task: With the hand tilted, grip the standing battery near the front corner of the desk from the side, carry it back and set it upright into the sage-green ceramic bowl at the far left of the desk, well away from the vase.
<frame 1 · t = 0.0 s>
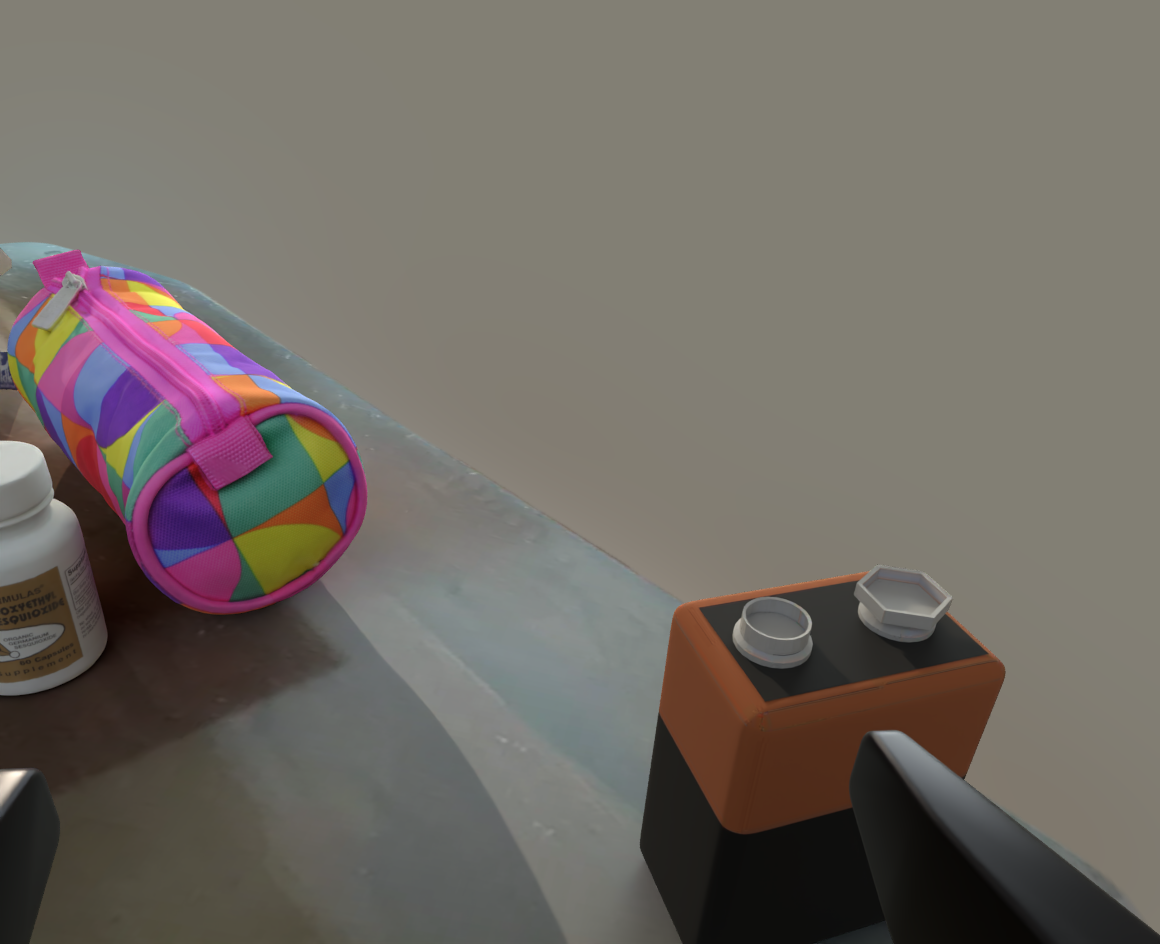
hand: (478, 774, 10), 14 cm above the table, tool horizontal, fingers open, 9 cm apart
battery: (770, 885, 25), on the table
pill bottle: (41, 660, 31), on the table
pencil case: (181, 505, 40), on the table
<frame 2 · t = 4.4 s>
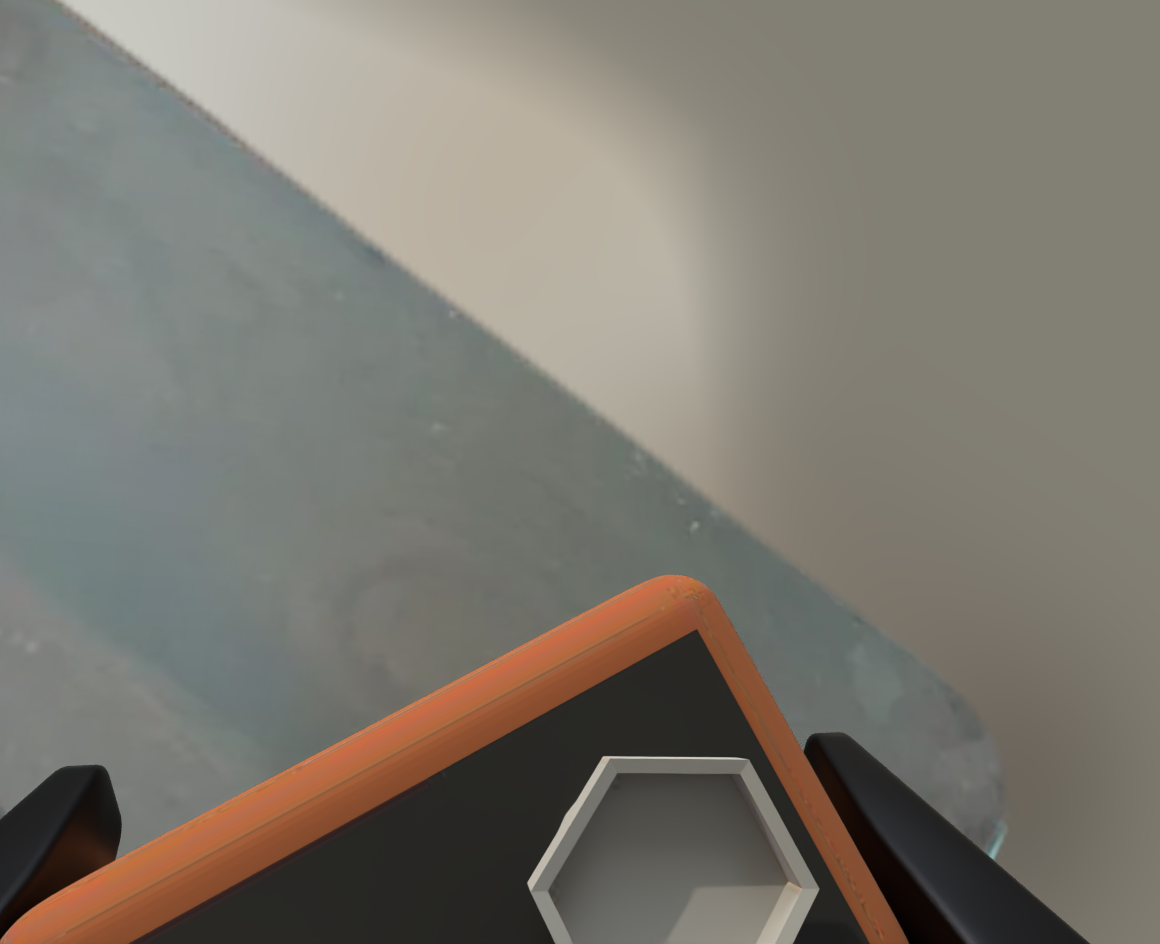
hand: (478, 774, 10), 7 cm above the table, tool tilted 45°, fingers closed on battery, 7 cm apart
battery: (472, 830, 16), on the table, touching gripper
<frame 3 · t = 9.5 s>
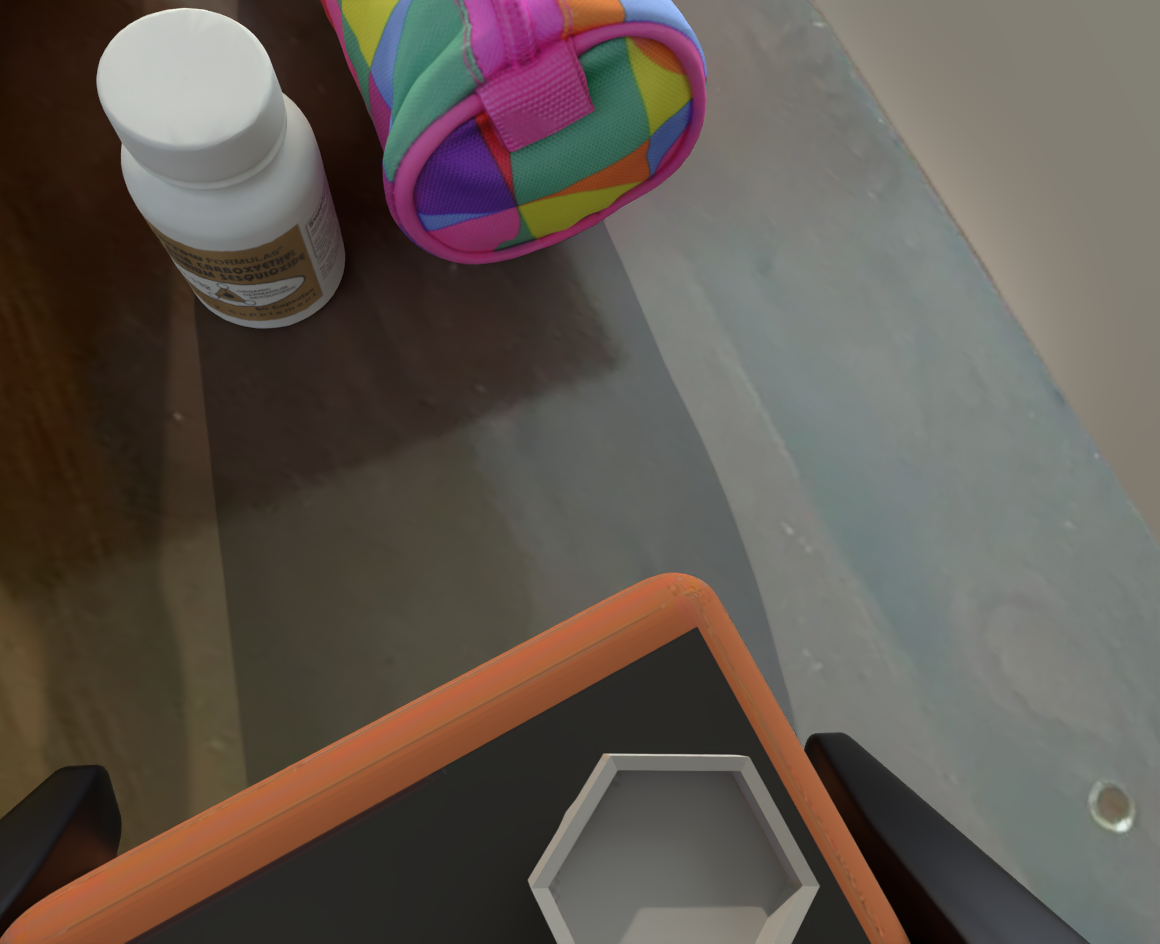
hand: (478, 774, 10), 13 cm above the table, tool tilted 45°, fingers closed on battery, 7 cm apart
battery: (472, 828, 16), point 6 cm above the table, touching gripper
pill bottle: (270, 266, 25), on the table
when the fingers open (7 cm above the table, at t = 15.0 s): battery stays where it is, resting on bowl.
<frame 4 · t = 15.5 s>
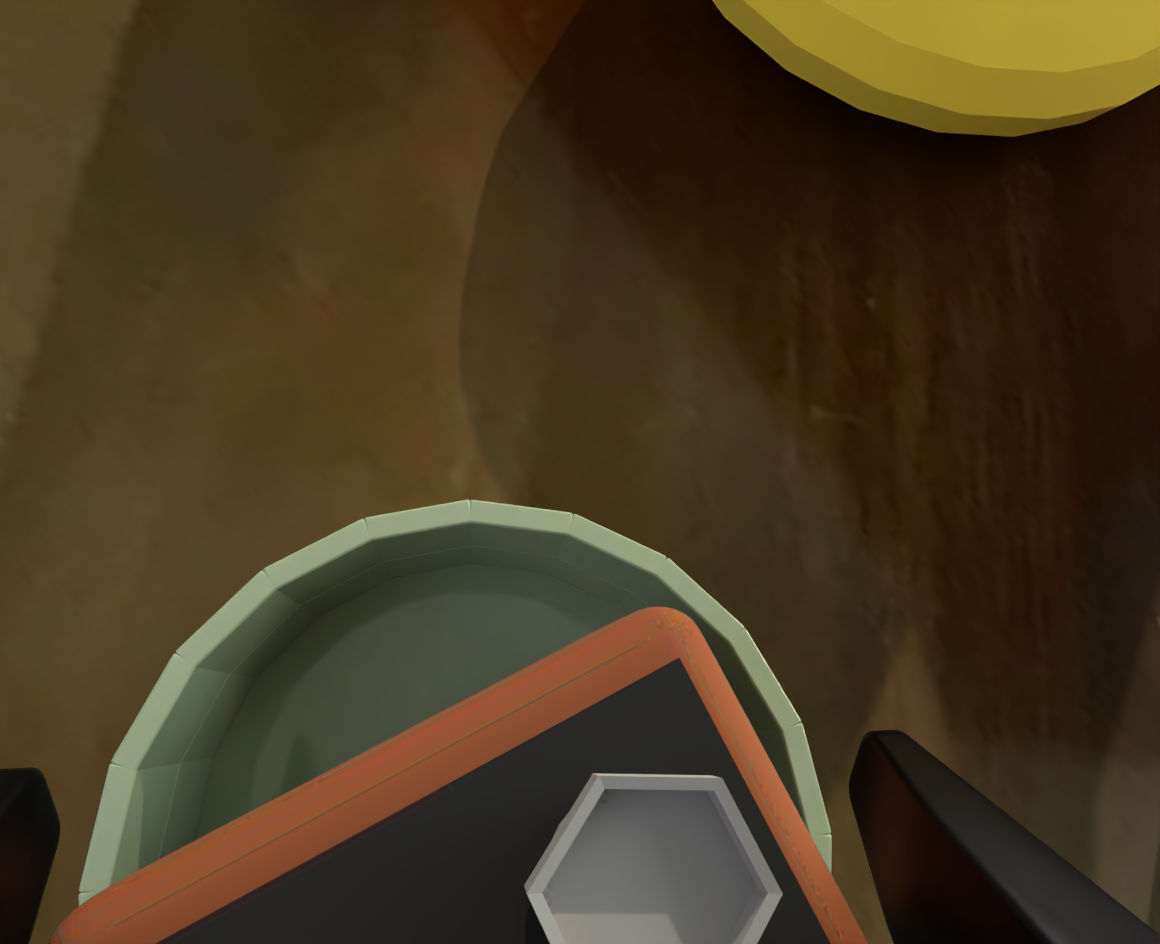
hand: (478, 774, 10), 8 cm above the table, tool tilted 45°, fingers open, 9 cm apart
battery: (472, 833, 17), resting on bowl
bowl: (474, 824, 17), on the table
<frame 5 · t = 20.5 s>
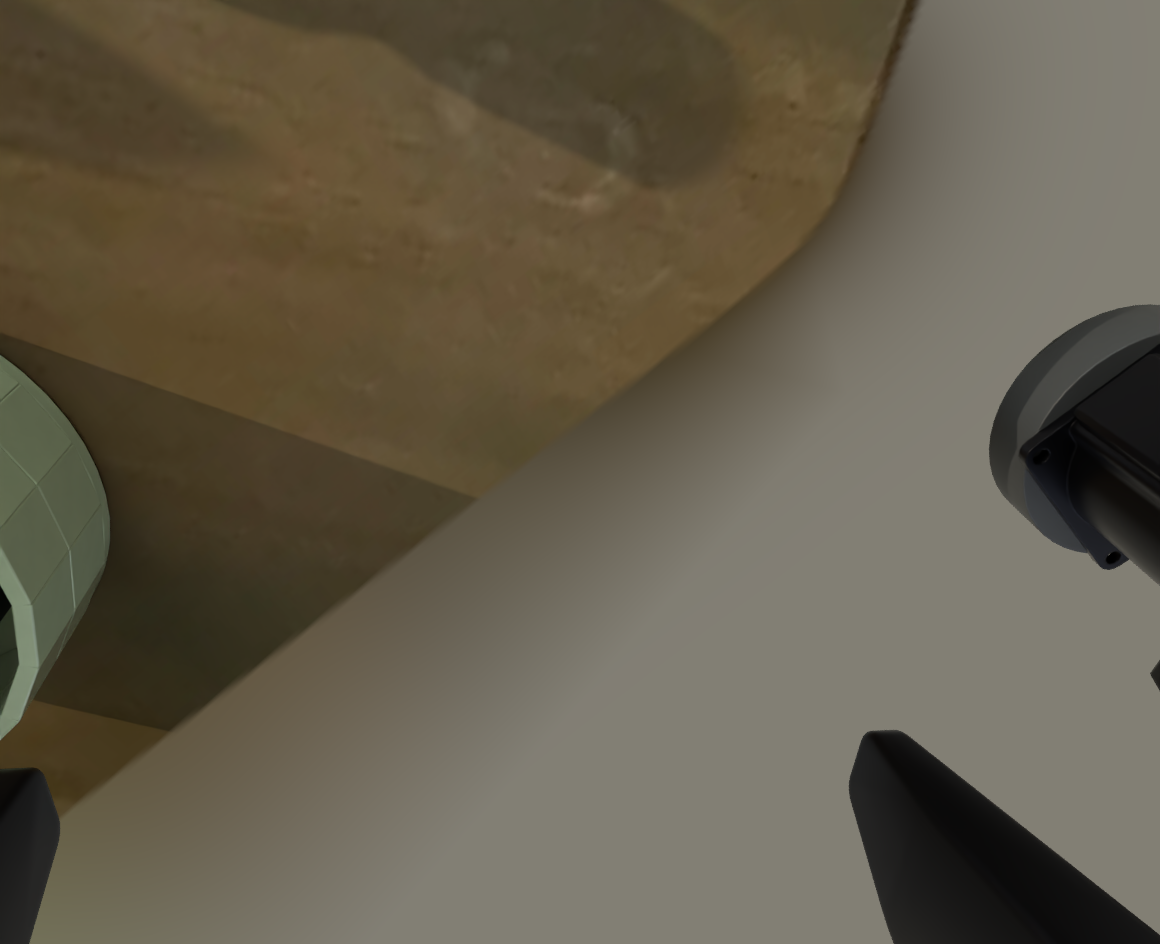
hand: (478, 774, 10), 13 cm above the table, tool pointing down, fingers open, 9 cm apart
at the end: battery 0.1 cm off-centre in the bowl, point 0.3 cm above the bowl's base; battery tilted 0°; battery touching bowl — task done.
